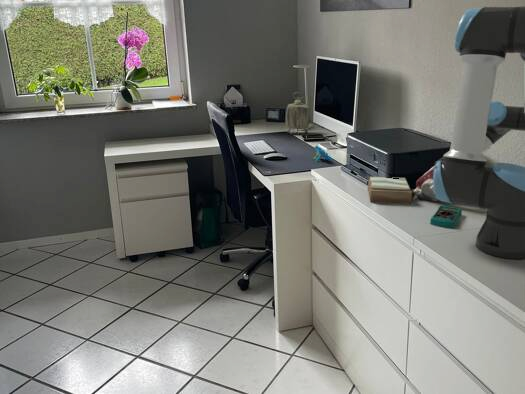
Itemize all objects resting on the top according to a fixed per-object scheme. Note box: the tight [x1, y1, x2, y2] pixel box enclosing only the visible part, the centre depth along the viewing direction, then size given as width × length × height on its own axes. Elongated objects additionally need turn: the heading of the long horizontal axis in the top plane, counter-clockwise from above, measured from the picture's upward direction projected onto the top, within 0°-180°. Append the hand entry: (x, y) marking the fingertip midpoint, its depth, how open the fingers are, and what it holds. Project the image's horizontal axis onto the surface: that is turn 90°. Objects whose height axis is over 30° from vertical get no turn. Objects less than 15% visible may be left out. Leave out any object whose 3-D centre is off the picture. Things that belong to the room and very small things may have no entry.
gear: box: [313, 145, 332, 162], centre depth 238 cm, size 11×6×10 cm
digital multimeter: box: [429, 205, 463, 229], centre depth 163 cm, size 7×15×3 cm, turn 151°
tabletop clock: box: [285, 91, 311, 135], centre depth 301 cm, size 14×9×25 cm, turn 84°
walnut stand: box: [367, 176, 413, 205], centre depth 186 cm, size 18×14×5 cm
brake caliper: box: [412, 168, 440, 202], centre depth 182 cm, size 11×11×12 cm
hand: (427, 185), depth 184 cm, fingers open, 13 cm apart
